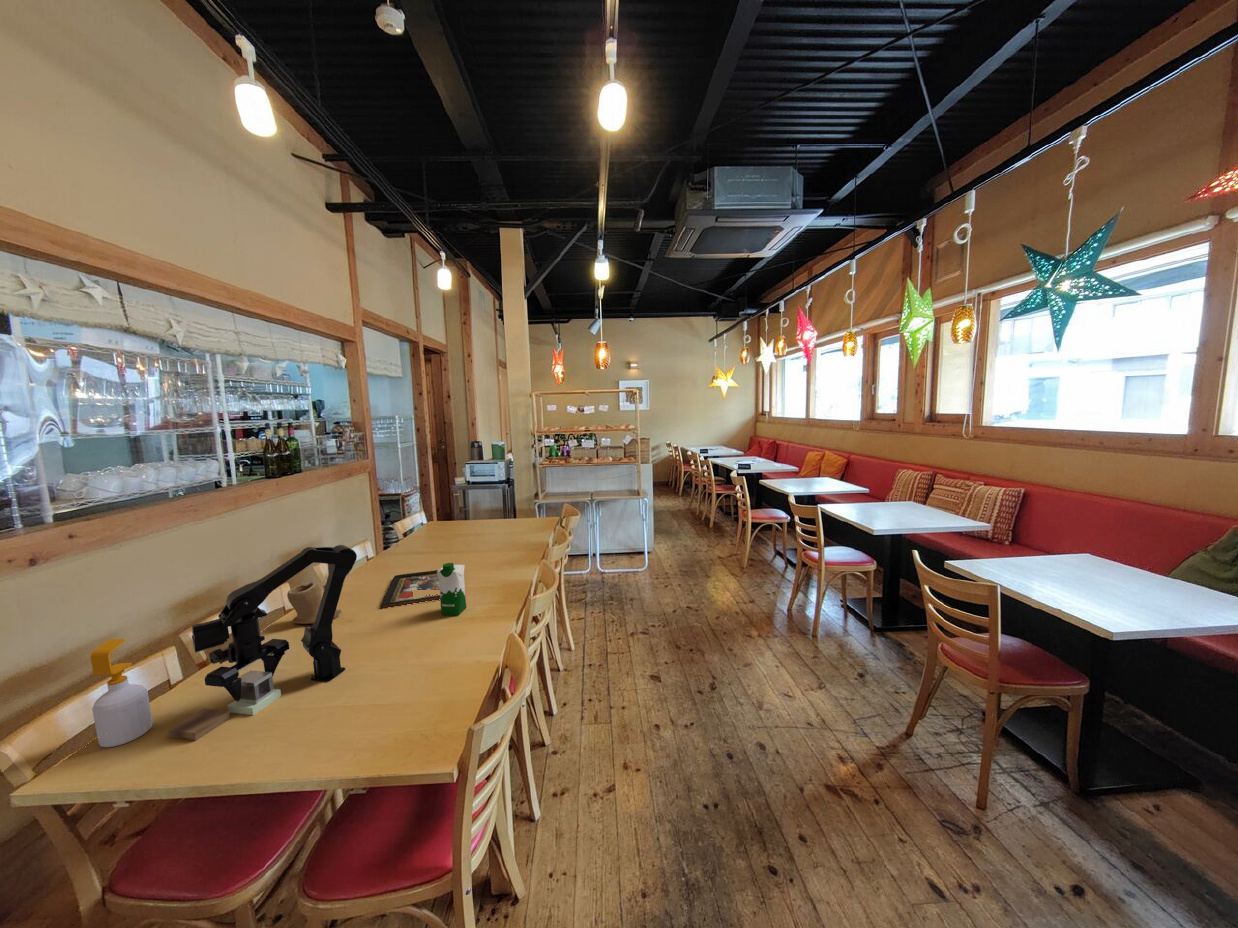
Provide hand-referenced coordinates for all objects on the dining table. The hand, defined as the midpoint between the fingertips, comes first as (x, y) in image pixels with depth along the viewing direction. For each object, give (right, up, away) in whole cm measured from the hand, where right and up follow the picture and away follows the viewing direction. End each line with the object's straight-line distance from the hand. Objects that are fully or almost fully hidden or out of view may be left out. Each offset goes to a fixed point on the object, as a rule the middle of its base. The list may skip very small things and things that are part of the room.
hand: (253, 690), depth 122 cm
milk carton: (+35, +3, +55) cm, 65 cm away
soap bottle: (-23, -6, -10) cm, 26 cm away
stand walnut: (-7, -5, -8) cm, 12 cm away
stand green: (0, -4, 0) cm, 4 cm away
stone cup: (-17, +1, +49) cm, 52 cm away
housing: (0, -2, 0) cm, 2 cm away
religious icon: (+13, +5, +80) cm, 81 cm away
